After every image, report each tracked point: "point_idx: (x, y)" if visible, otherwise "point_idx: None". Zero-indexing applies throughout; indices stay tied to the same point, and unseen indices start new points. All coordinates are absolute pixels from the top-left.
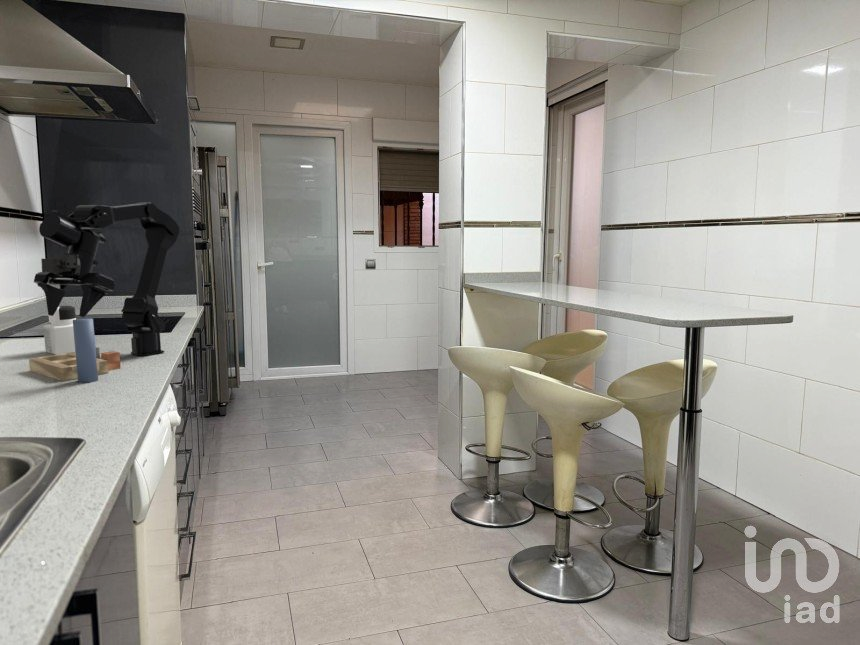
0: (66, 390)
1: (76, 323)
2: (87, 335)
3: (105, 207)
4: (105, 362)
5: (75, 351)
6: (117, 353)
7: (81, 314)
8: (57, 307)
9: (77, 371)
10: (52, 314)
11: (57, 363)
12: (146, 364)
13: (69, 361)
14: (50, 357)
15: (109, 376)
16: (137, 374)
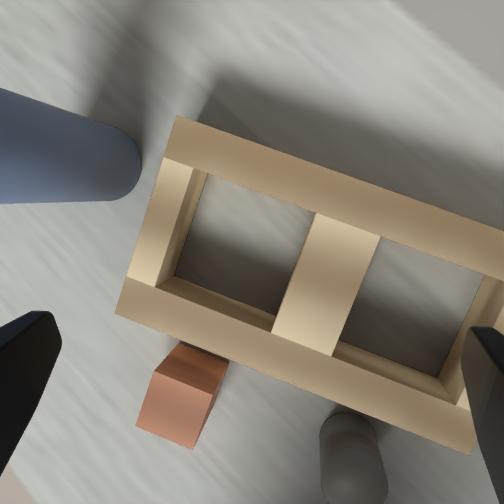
0: (53, 5)
1: None
2: None
3: None
4: (121, 303)
5: (46, 105)
6: (139, 414)
7: (20, 319)
8: (494, 486)
9: (99, 122)
10: (463, 361)
11: (298, 198)
12: (116, 472)
13: (296, 269)
14: None
15: (87, 250)
16: (12, 307)
